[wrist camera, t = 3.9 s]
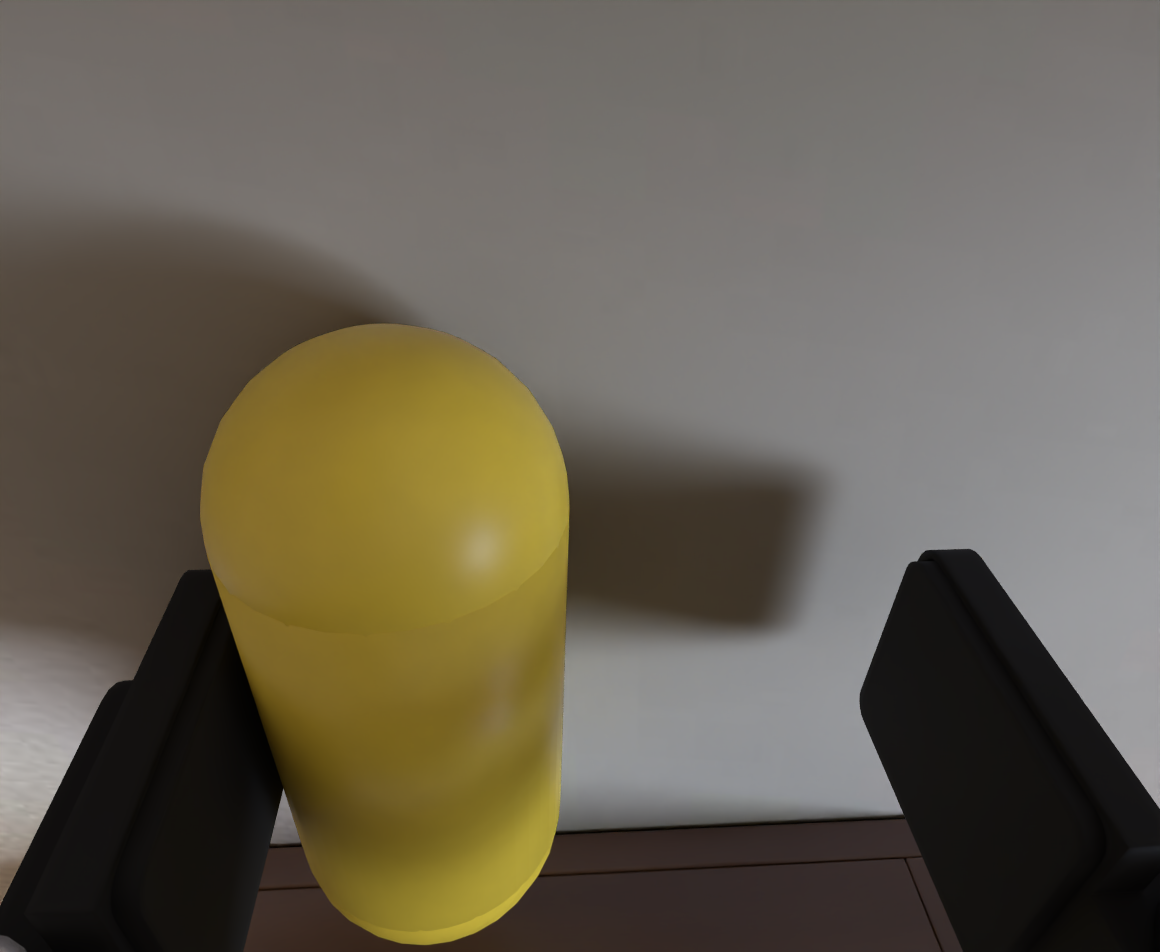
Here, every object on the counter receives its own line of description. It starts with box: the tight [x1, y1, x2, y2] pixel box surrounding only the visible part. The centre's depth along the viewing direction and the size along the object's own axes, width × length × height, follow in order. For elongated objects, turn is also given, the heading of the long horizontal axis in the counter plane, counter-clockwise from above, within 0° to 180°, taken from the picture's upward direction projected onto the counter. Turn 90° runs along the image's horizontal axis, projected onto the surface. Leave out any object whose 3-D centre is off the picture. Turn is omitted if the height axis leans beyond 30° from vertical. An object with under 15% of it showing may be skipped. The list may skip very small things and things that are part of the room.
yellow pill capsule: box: [200, 323, 570, 945], centre depth 10 cm, size 9×4×4 cm
